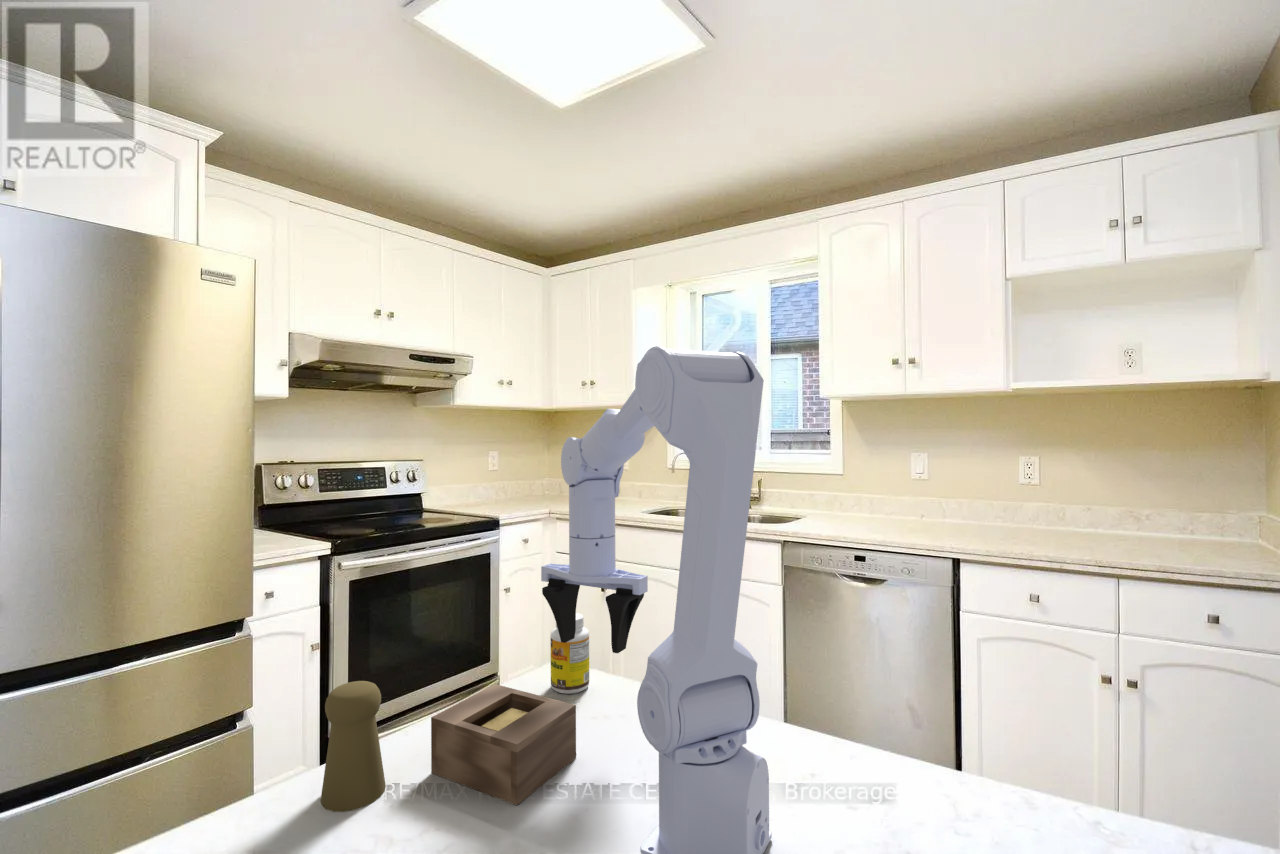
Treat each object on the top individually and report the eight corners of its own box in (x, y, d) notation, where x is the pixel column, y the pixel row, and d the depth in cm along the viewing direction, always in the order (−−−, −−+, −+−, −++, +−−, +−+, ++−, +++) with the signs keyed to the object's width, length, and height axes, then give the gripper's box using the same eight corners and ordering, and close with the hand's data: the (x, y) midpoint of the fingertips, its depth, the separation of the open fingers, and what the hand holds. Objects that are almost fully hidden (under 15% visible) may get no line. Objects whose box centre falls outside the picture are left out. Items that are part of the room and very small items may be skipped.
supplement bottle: (545, 684, 90) (544, 614, 90) (580, 676, 93) (580, 608, 93) (558, 698, 85) (558, 624, 85) (595, 690, 88) (595, 618, 88)
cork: (361, 815, 60) (360, 700, 60) (306, 807, 61) (306, 695, 61) (397, 780, 65) (397, 676, 66) (347, 774, 67) (347, 672, 67)
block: (532, 757, 70) (532, 713, 70) (502, 779, 66) (502, 732, 66) (511, 751, 71) (511, 707, 71) (481, 772, 67) (481, 726, 67)
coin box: (576, 758, 70) (575, 704, 70) (517, 805, 61) (516, 744, 61) (495, 733, 75) (495, 684, 76) (431, 773, 67) (431, 717, 67)
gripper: (659, 534, 76) (659, 645, 76) (564, 526, 83) (564, 627, 83) (630, 544, 70) (631, 663, 70) (530, 534, 77) (530, 643, 77)
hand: (592, 645), depth 76 cm, fingers open, 7 cm apart
